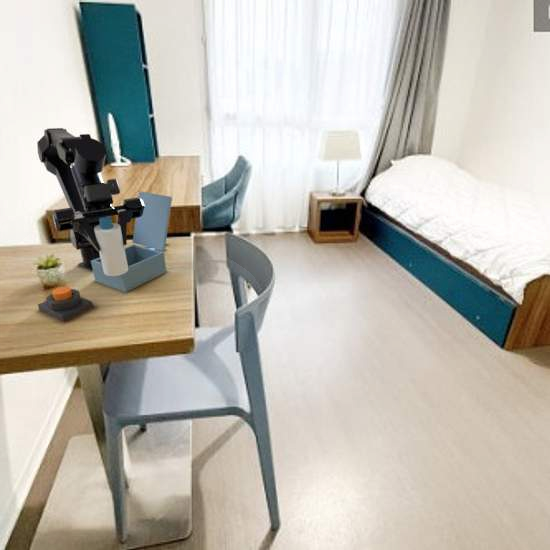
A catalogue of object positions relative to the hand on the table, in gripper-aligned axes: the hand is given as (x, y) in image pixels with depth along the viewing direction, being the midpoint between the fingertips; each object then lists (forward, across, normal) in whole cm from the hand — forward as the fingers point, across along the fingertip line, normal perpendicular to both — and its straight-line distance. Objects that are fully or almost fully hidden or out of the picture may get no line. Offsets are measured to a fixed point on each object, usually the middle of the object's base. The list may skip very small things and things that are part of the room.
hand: (112, 247), depth 82 cm
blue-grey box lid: (-9, +13, +10) cm, 19 cm away
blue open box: (+3, +5, +16) cm, 17 cm away
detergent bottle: (+4, 0, +6) cm, 7 cm away
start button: (+6, -12, +7) cm, 15 cm away
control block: (+9, -12, +9) cm, 17 cm away
